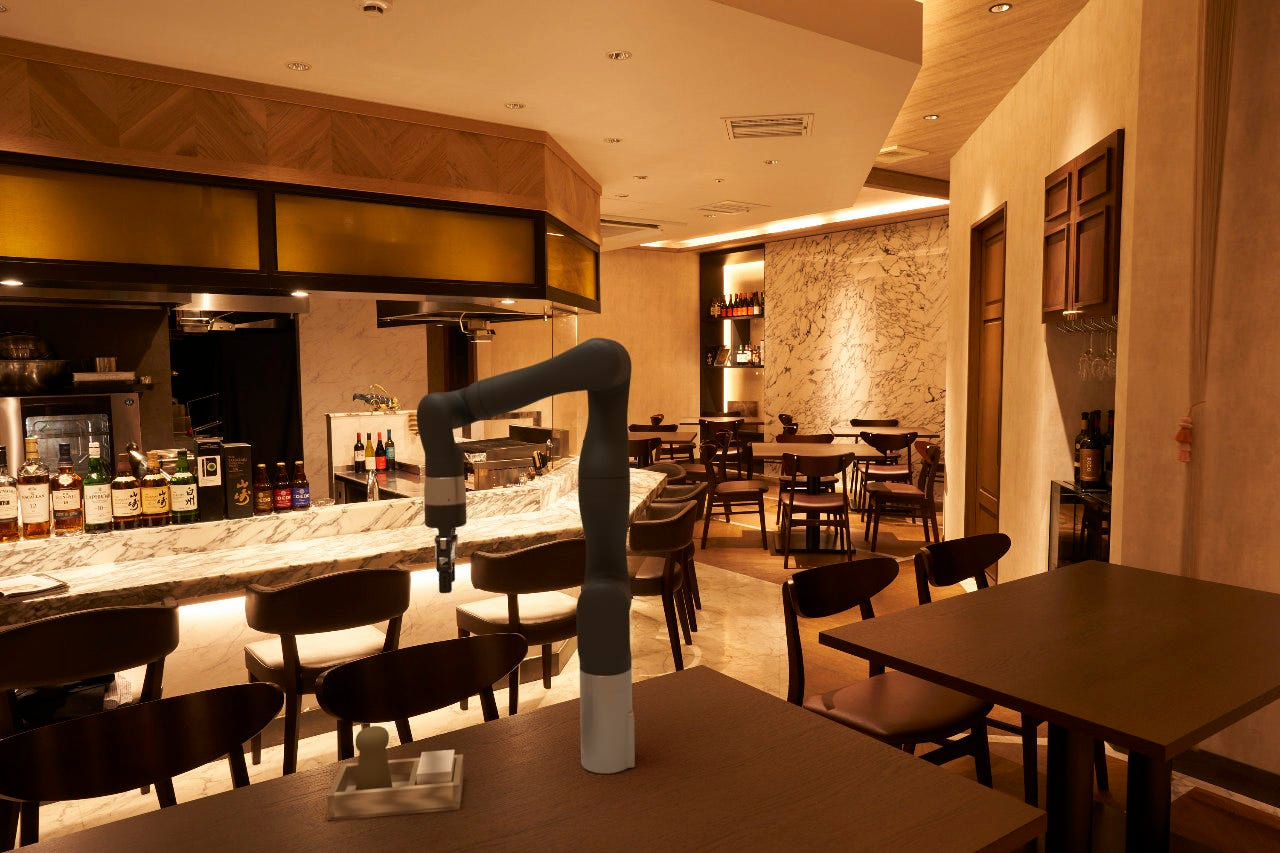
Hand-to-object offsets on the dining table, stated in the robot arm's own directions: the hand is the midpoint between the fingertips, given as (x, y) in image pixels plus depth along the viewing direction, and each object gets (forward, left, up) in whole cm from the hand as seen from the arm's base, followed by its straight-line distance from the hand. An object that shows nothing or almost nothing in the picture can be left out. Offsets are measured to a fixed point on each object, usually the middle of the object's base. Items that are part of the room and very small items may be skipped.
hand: (447, 587), depth 152 cm
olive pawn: (+11, +18, -30) cm, 36 cm away
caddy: (+7, +19, -30) cm, 36 cm away
